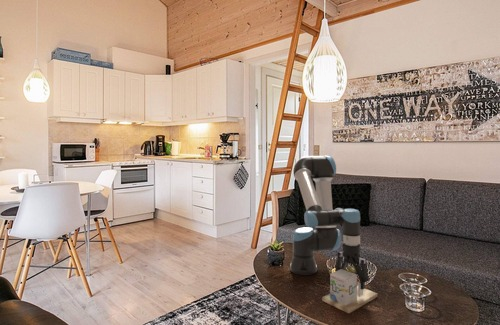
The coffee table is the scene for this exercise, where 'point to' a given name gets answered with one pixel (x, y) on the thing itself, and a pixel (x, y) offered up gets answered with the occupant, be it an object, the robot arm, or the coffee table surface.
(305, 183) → the robot arm
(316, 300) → the coffee table surface
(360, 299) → the board
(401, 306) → the coffee table surface
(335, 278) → the ink box
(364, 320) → the coffee table surface
